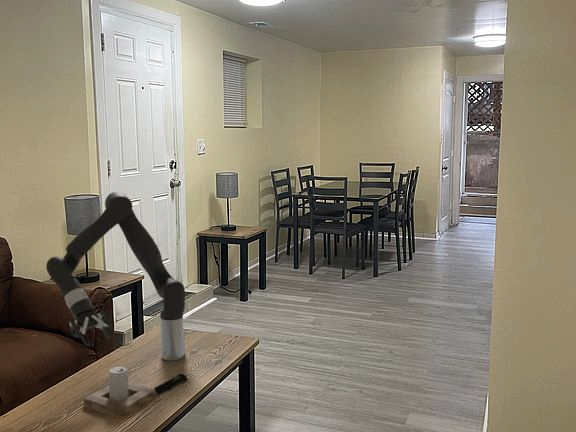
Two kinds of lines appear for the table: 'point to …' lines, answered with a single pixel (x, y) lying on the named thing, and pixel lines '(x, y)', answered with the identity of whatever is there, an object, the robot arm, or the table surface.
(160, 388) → the electric trimmer
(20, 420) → the table surface
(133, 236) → the robot arm
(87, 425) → the table surface
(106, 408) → the hole board
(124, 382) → the beverage can
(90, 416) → the table surface
